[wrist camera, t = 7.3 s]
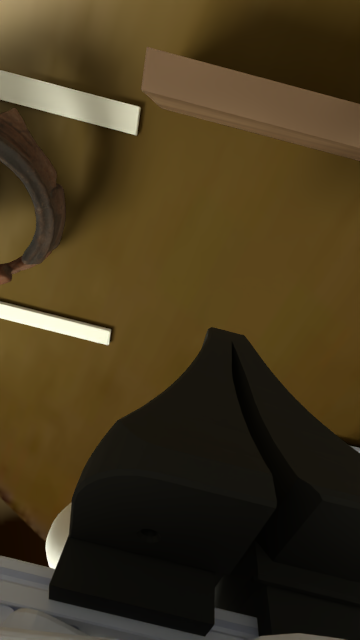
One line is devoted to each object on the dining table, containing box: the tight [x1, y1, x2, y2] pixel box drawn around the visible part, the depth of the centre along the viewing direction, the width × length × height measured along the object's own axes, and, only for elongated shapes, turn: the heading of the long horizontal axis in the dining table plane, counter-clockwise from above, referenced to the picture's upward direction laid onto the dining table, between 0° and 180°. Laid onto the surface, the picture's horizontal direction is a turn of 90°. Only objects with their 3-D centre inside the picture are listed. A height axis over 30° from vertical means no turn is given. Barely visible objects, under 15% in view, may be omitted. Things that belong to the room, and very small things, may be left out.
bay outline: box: [0, 70, 141, 345], centre depth 18 cm, size 14×14×1 cm
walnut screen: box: [141, 47, 360, 161], centre depth 12 cm, size 1×11×4 cm, turn 78°
